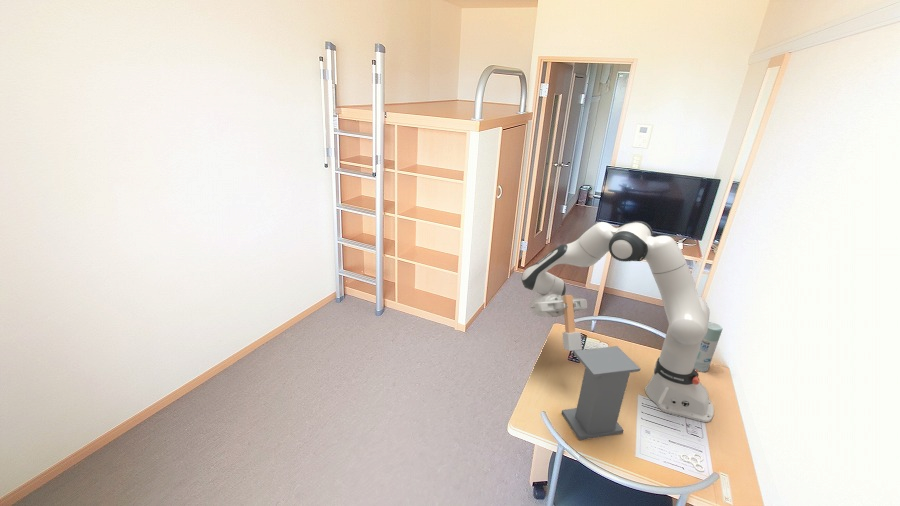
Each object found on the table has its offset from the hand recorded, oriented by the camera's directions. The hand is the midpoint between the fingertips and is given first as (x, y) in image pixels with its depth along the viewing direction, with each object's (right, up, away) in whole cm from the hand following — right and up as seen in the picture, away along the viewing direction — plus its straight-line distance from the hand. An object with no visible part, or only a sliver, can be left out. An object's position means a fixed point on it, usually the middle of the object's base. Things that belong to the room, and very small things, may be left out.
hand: (570, 305), depth 150 cm
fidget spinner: (+31, -46, -23) cm, 60 cm away
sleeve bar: (0, -7, +2) cm, 7 cm away
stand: (+4, -39, -10) cm, 40 cm away
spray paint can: (+60, -29, +22) cm, 70 cm away
